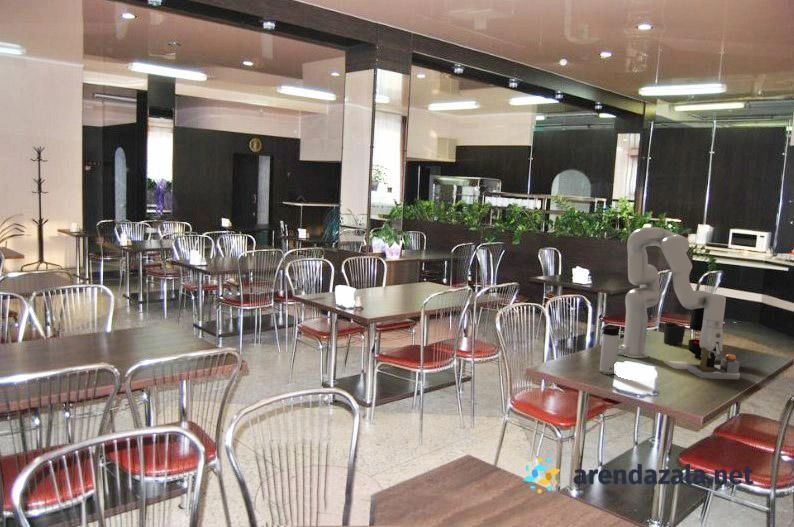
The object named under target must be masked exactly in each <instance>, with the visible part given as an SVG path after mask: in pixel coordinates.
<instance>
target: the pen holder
mask: <svg viewBox="0 0 794 527" xmlns="http://www.w3.org/2000/svg"><path fill="white" fill-rule="evenodd" d="M663 328H664V331H663V343H664V344H666V345H667V344H668V345H667V346H672V345H673V346H675V347H681V346H682V345H683V343H684V342H683V341H684V337H685V336H684V335H685V334H684V333H685V328H686V326H685V325H679V324H677V323H674V322H665V323H664V327H663ZM673 346H672V347H673Z"/></svg>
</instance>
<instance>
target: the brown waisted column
mask: <svg viewBox="0 0 794 527" xmlns="http://www.w3.org/2000/svg"><path fill="white" fill-rule="evenodd" d="M713 351H714V350H713ZM702 352H703V355H701V357H702V359H701V358H700V362H699V364H700V366H699V369H700V370H702V371H704V372H714V368H711V367H706V363H707V358H708V353H709V351H708V350H707V349H706V348H705V347H703V348H702ZM711 354H712V352H711Z"/></svg>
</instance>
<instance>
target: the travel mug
mask: <svg viewBox="0 0 794 527" xmlns="http://www.w3.org/2000/svg"><path fill="white" fill-rule="evenodd" d="M619 330H621V327H620V326H612V325H611V326H604V327H603V328H602V336H601V347H600V348H601V352H600V363H599V373H600V372H602V373H606V374H614V364H615V363H616V364H617V358H618V357H617V356H618V350H617V348H618V346H619V335H620V334H619V332H620V331H619ZM602 373H601V374H602ZM614 375H615V374H614Z"/></svg>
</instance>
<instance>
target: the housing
mask: <svg viewBox="0 0 794 527" xmlns="http://www.w3.org/2000/svg"><path fill="white" fill-rule="evenodd" d="M699 366H700V363H698V364H696V363H695V364H693V363H691V364H690V363H689V364H687V369H686V370H687V372H688V371H689V372H690V373H692V374H694V375H695V376H697V377H699V378H700V379H708V378H709V379H712V380H717V379H718V380H740V379H741V378H740V375H741V373H740V372H739V370H740V361H737V360H736V359H735V360H734V361H728V360H727V359H726V358H720V363H719V364H715V365H714V372H704V371H702V370H700V369H699ZM709 379H708V380H709Z"/></svg>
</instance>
